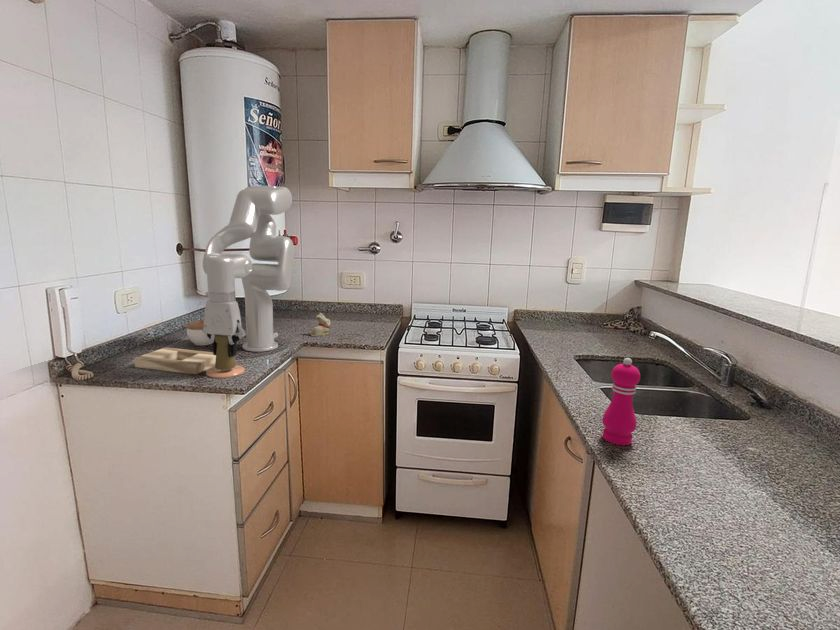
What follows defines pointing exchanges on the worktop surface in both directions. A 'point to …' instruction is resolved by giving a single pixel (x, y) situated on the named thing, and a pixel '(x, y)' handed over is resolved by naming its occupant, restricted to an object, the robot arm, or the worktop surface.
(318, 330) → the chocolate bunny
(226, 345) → the olive waisted cylinder
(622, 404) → the pepper mill
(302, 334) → the worktop surface
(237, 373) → the coaster
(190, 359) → the wooden tray
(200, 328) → the white bowl
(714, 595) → the worktop surface
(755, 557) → the worktop surface
